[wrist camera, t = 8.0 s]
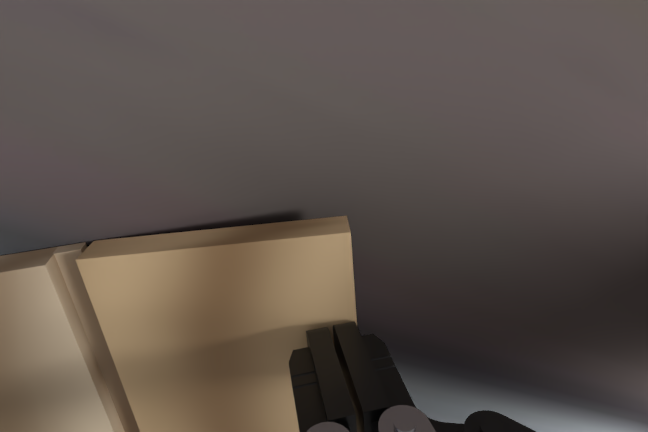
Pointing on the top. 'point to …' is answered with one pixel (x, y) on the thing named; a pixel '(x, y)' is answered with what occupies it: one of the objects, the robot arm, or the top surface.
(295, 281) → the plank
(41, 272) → the laid strip
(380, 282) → the top surface
